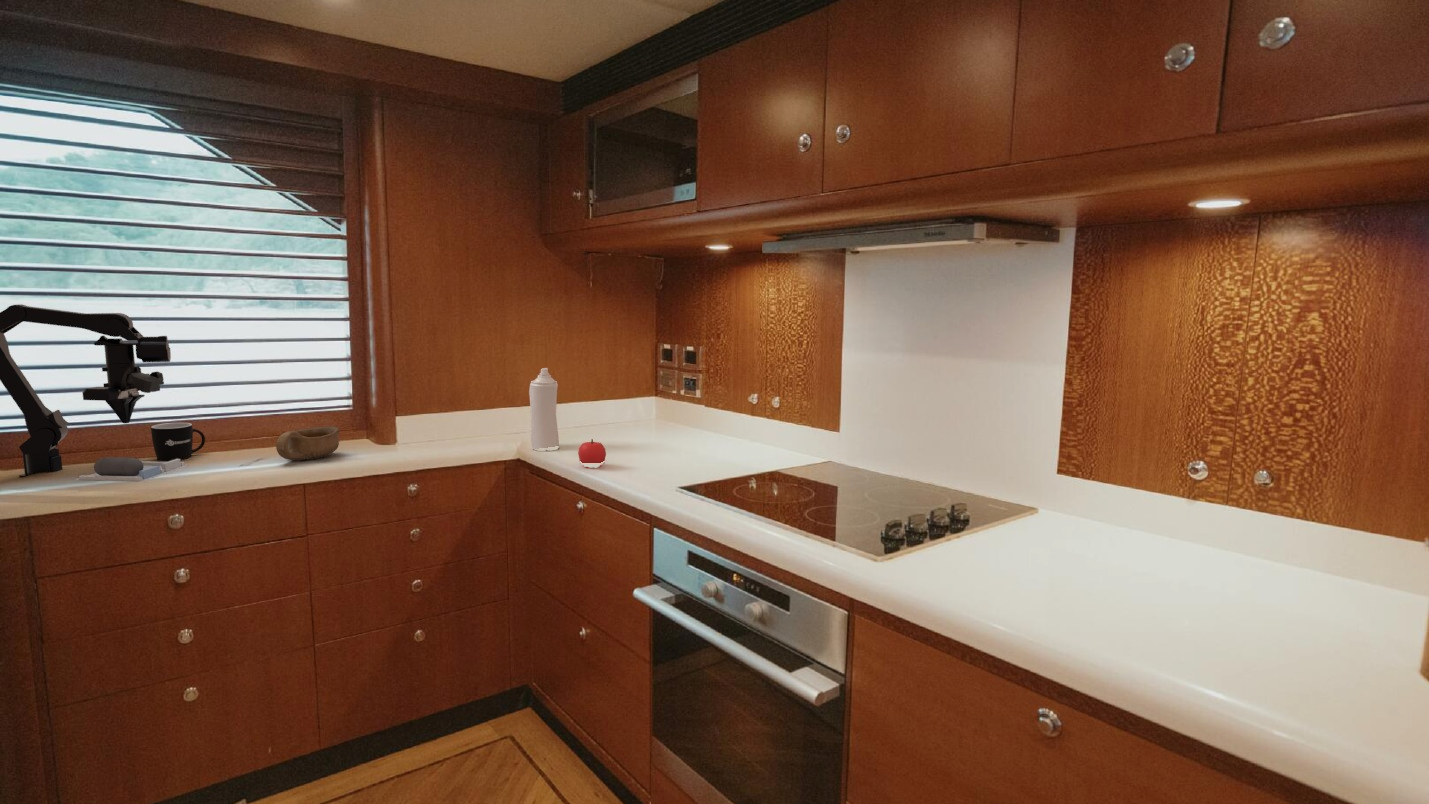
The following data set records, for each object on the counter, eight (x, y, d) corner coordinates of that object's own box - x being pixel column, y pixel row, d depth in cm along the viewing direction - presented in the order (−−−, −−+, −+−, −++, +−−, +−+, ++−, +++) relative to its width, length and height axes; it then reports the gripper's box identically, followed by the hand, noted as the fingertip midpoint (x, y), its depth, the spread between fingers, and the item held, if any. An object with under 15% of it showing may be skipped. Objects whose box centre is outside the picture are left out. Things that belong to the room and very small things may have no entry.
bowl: (319, 462, 198) (307, 427, 196) (271, 474, 199) (259, 439, 197) (354, 447, 215) (343, 415, 214) (309, 459, 216) (298, 426, 215)
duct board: (75, 484, 175) (73, 471, 174) (125, 468, 190) (124, 456, 190) (144, 485, 175) (143, 472, 175) (189, 469, 191) (188, 457, 191)
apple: (608, 463, 212) (608, 436, 211) (603, 470, 204) (603, 442, 203) (580, 463, 212) (581, 435, 211) (575, 469, 204) (575, 441, 203)
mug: (161, 467, 192) (158, 429, 191) (148, 462, 197) (145, 425, 196) (213, 460, 202) (210, 423, 200) (199, 455, 207) (196, 419, 206)
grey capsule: (91, 478, 177) (86, 461, 175) (105, 471, 181) (101, 454, 180) (136, 479, 177) (132, 462, 176) (149, 472, 181) (146, 455, 180)
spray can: (518, 447, 229) (518, 368, 226) (542, 442, 239) (542, 366, 235) (546, 452, 224) (546, 371, 220) (569, 446, 233) (569, 368, 229)
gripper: (125, 367, 177) (131, 430, 180) (178, 360, 196) (182, 417, 198) (77, 366, 177) (84, 429, 179) (135, 359, 195) (140, 416, 198)
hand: (126, 423), depth 189 cm, fingers closed
